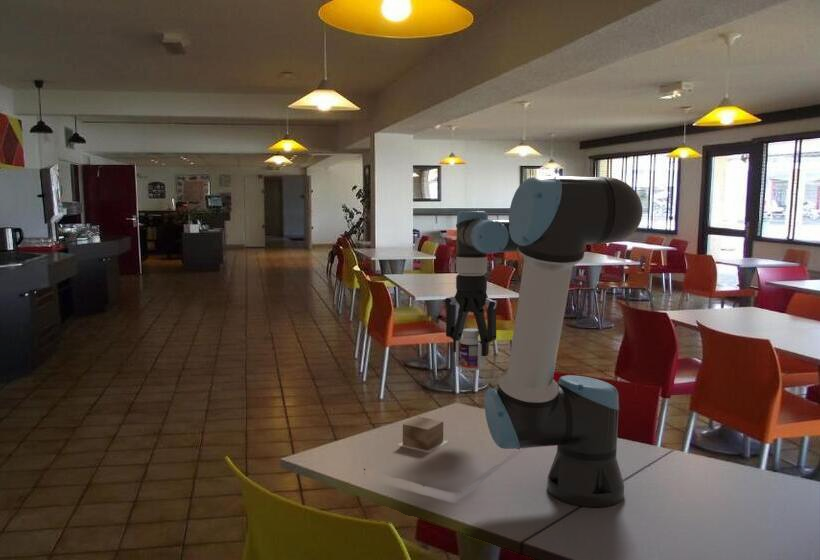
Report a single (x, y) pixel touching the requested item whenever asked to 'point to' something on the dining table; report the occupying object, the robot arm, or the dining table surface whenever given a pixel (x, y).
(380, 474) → the dining table surface
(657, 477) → the dining table surface
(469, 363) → the pill bottle
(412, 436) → the walnut block
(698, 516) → the dining table surface
